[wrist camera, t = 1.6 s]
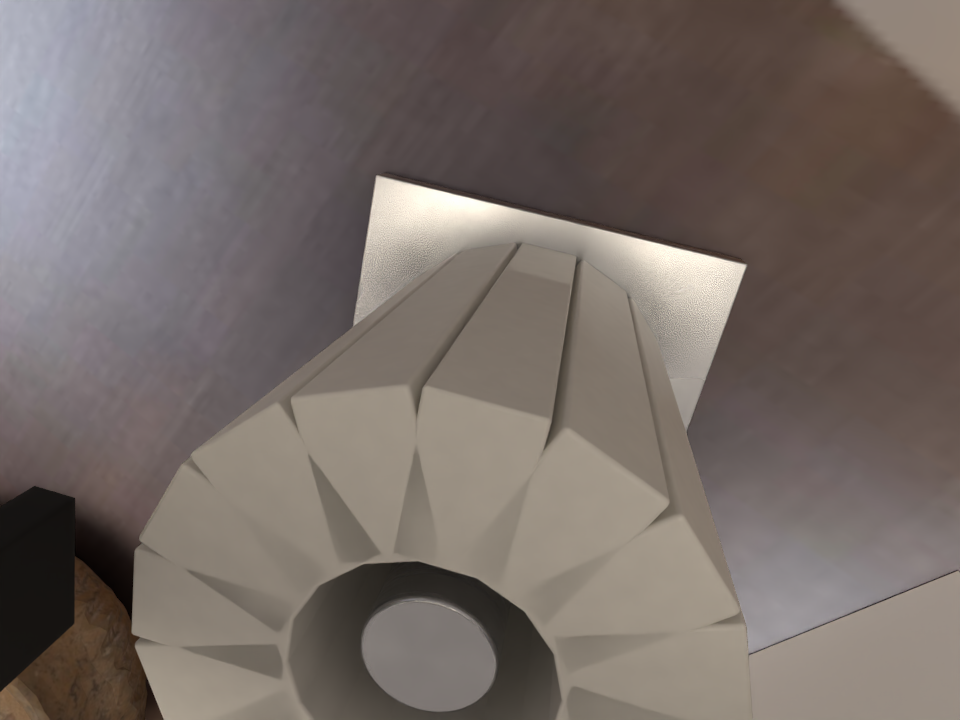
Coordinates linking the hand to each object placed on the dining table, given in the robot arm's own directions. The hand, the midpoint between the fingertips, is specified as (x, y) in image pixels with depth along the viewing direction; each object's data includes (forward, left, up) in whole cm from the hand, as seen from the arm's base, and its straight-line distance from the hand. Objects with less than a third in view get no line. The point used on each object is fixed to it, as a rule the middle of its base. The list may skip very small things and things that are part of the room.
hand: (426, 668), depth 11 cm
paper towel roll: (0, 0, -13) cm, 13 cm away
